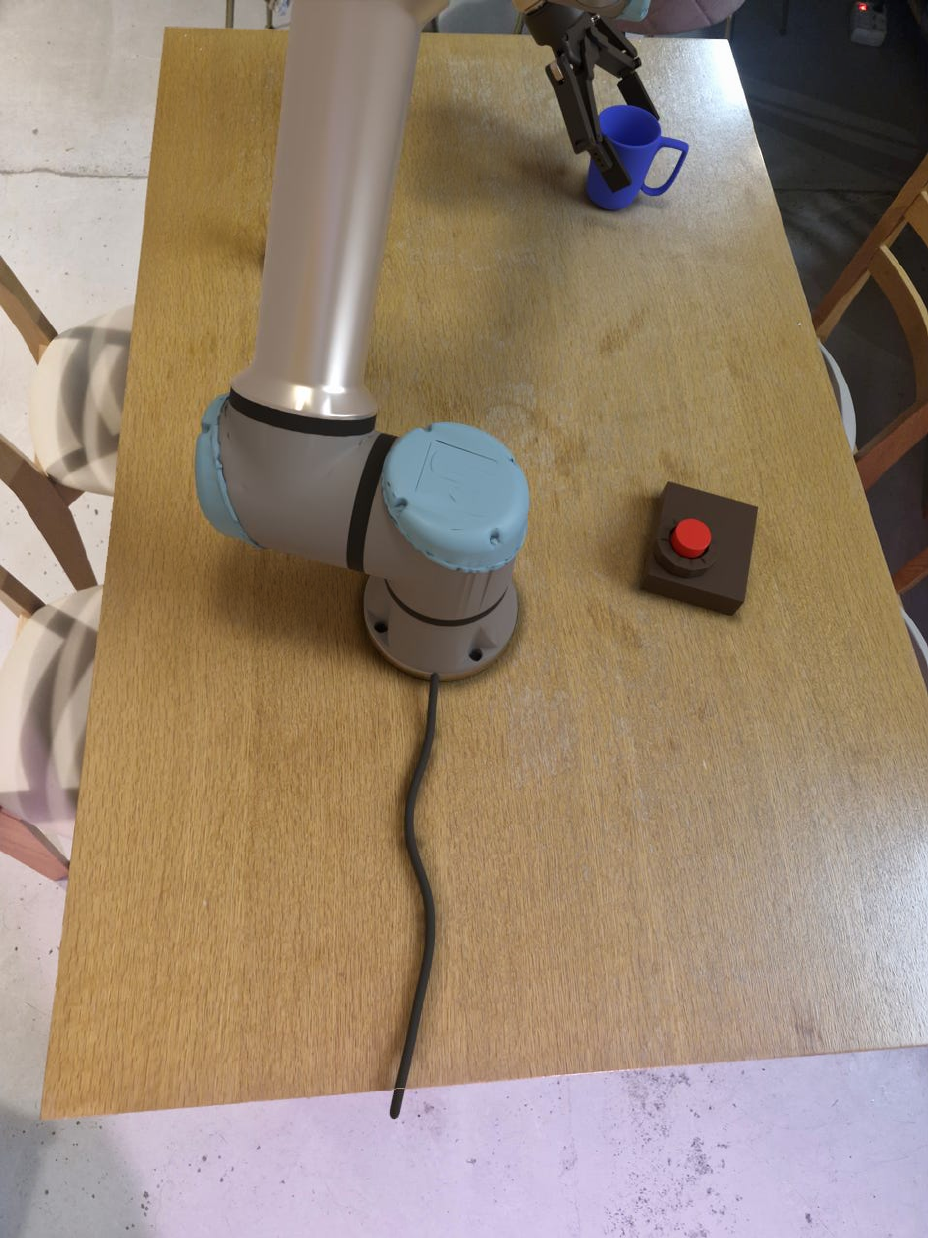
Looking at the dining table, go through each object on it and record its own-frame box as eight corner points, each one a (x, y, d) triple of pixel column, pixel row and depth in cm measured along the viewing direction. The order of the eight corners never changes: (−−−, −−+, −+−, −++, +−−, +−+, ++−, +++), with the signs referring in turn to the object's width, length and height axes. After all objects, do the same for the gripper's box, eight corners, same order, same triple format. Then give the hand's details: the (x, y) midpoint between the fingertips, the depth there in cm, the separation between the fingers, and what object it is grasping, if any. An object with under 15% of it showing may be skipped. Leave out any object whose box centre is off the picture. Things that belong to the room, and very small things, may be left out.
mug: (664, 229, 113) (689, 160, 104) (575, 209, 113) (592, 138, 104) (670, 188, 116) (694, 118, 107) (584, 169, 116) (601, 97, 107)
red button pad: (732, 616, 88) (751, 594, 84) (637, 588, 88) (651, 564, 84) (746, 522, 93) (765, 497, 89) (656, 496, 94) (670, 470, 89)
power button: (702, 562, 85) (708, 553, 84) (667, 552, 85) (673, 543, 84) (707, 533, 87) (713, 524, 85) (673, 523, 87) (678, 514, 85)
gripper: (539, 32, 88) (636, 203, 101) (606, -82, 99) (686, 85, 111) (485, 68, 93) (584, 227, 106) (554, -44, 104) (636, 112, 117)
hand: (636, 154), depth 109 cm, fingers open, 13 cm apart
